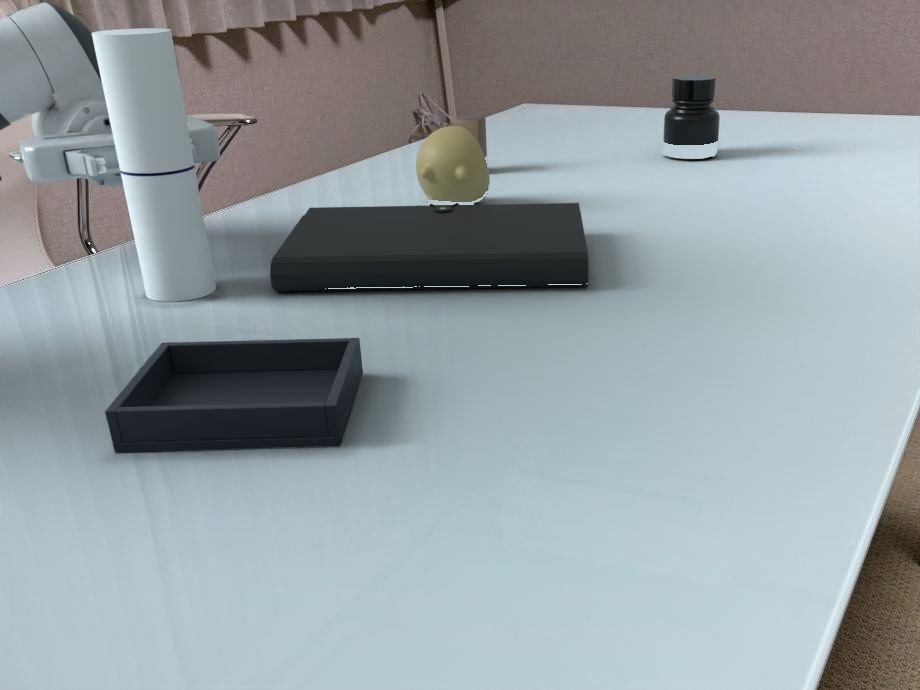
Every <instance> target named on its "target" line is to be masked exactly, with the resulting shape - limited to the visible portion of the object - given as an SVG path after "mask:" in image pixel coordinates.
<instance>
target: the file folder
mask: <svg viewBox="0 0 920 690" xmlns="http://www.w3.org/2000/svg"><path fill="white" fill-rule="evenodd" d="M582 217H583V216H582V212H581V208H580V203H579V202H558V203H557V202H553V203H552V202H551V203H503V204H502V203H500V204H499V203H496V204H495V203H494V204H492V203H491V204H474V205H459V204H458V203H456V204H454V205H433V204H430V205H429V206H428V205H386V206H385V205H383V206H382V205H381V206H379V205H378V206H330V207H329V206H327V207H309V208H308V209H307V211H305V214H303V215H302V216H301V217H300V219H299V220H298V222H297V223H296V224H295V225H294V227H293V229H292V230H291V231H290V233H289V234H288V236H287V237H286V239H285V240H284V241H283V243H282V244H281V245H280V247H279V248H278V249H277V251H276V252H275V254H274V255H273V257H272V258H271V261H270V266H269V267H270V268H269V276H270V278H269V279H270V284H271V287H272V290H273V291H274V292H275V293H286V292H287V293H288V292H290V293H291V292H336V291H337V292H340V291H342V292H344V291H392V290H395V291H399V290H400V291H402V290H448V289H449V290H453V289H456V290H457V289H458V290H459V289H504V288H505V289H509V288H511V289H512V288H513V289H514V288H562V287H564V288H565V287H568V288H569V287H570V288H571V287H588V286H589V275H590V274H589V272H590V270H589V269H590V268H589V251H588V246H587V241H586V236H585V235H586V234H585V230H584V229H585V228H584V222H583V218H582ZM586 283H588V284H586ZM548 284H582V285H548ZM478 285H491V286H478ZM498 285H526V286H498ZM403 286H404V287H413V288H356V287H403ZM414 286H417V287H414ZM419 286H420V287H419ZM424 286H469V287H424ZM347 287H348V288H350V287H354V288H356V289H328V288H347ZM325 288H326V289H325Z"/></svg>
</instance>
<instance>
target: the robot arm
mask: <svg viewBox="0 0 920 690" xmlns="http://www.w3.org/2000/svg"><path fill="white" fill-rule="evenodd" d="M92 33H93V32H91V31H90V29H89V28H88V27H87V26H86V24H84V22H83V21H82V20H80V19H79V18H78V17H76V16H75V15H74V14H72V13H71V12H69V11H68V10H66V9H64V8H63V7H61V6H59V5H57V4H55V3H53V2H50V1H43V2H41V3H37V4H35V5H32V6H29V7H26V8H23V9H20V10H17V11H14V12H12V13H9V14H7V15H5V16H4V17H2V18H0V131H3V130H4V129H5V128H8V127H9V126H11V125H12V123H15V122H17V121H20V120H23V119H24V118H27V117H29V116H31V128H32V132H33V136H31V137H30V136H29V137H26V138H25V137H24V138H22V139H20V140H19V141H18V147H19V150H13V151H9V153H8V154H9V155H8V157H9V159H10V160H11V162H14V163H16V164H23V168H24V171H25V175H26V177H27V178H28V179H29V180H31V181H32V182H33V183H40V184H41V183H42V184H43V183H44V184H45V183H54V182H60V181H61V182H62V181H69V180H77V179H83V178H84V179H86V180H88V181H90V182H91V183H94V184H96V185H100V186H104V187H119V186H123V181H122V176H121V170H120V167H119V162H118V157H117V152H116V148H115V143H114V138H113V133H112V128H111V124H110V119H109V114H108V109H107V105H106V100H105V95H104V90H103V85H102V81H101V76H100V71H99V66H98V61H97V57H96V52H95V47H94V42H93V38H92ZM186 120H187V125H188V131H189V137H190V142H191V148H192V154H193V160H194V165H195V164H202V163H211V162H216V161H218V160H220V157H221V150H220V149H221V148H220V141H219V136H218V132H217V129H216V127H215V125H213V124H212V123H210V122H208V121H206V120H203V119H201V118H198V117H195V116H192V115H189V114H186Z"/></svg>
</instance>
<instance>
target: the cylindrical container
mask: <svg viewBox="0 0 920 690" xmlns="http://www.w3.org/2000/svg"><path fill="white" fill-rule="evenodd" d="M91 33H92V38H93V42H94V47H95V52H96V57H97V61H98V66H99V71H100V76H101V81H102V85H103V90H104V95H105V100H106V105H107V109H108V114H109V119H110V124H111V128H112V133H113V138H114V143H115V148H116V152H117V157H118V162H119V167H120V170H121V176H122V181H123V185H122V186H123V190H124V195H125V200H126V205H127V210H128V214H129V219H130V223H131V228H132V233H133V238H134V242H135V247H136V253H137V257H138V262H139V267H140V272H141V276H142V281H143V287H144V291H145V296H146V297H147V298H148V299H150V300H152V301H157V302H166V303H167V302H174V303H175V302H184V301H192V300H196V299H200V298H203V297H207V296H208V295H209V296H210V295H211V294H213V293H214V292H215V291H216V289H217V285H216V280H215V275H214V269H213V264H212V258H211V257H212V256H211V252H210V247H209V241H208V236H207V230H206V229H207V228H206V224H205V219H204V213H203V207H202V201H201V195H200V189H199V184H198V183H199V182H198V177H197V172H196V166H195V164H194V160H193V154H192V148H191V142H190V137H189V131H188V125H187V120H186V115H187V114H186V109H185V102H184V97H183V92H182V86H181V80H180V73H179V69H178V63H177V57H176V51H175V46H174V40H173V34H172V29H170V28H160V27H159V28H158V27H156V28H155V27H152V28H151V27H147V28H146V27H145V28H143V27H142V28H121V29H119V28H117V29H105V30H98V31H93V32H91Z"/></svg>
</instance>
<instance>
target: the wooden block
mask: <svg viewBox="0 0 920 690" xmlns="http://www.w3.org/2000/svg"><path fill="white" fill-rule="evenodd" d="M486 121H487V120H486V117H485V116H484V115H462V116H459V117H457V118H456V119H455V120H454V126H460V127H464V128H466V129H467V130H468V131H470V132H471V133H472V134H473V136H474V137H475V138H476V140H477V141H478V143H479V145H480V147H481V149H482V151H483V154H484V157H486V156H487V157H488V149H487V147H488V146H487V123H486Z"/></svg>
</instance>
